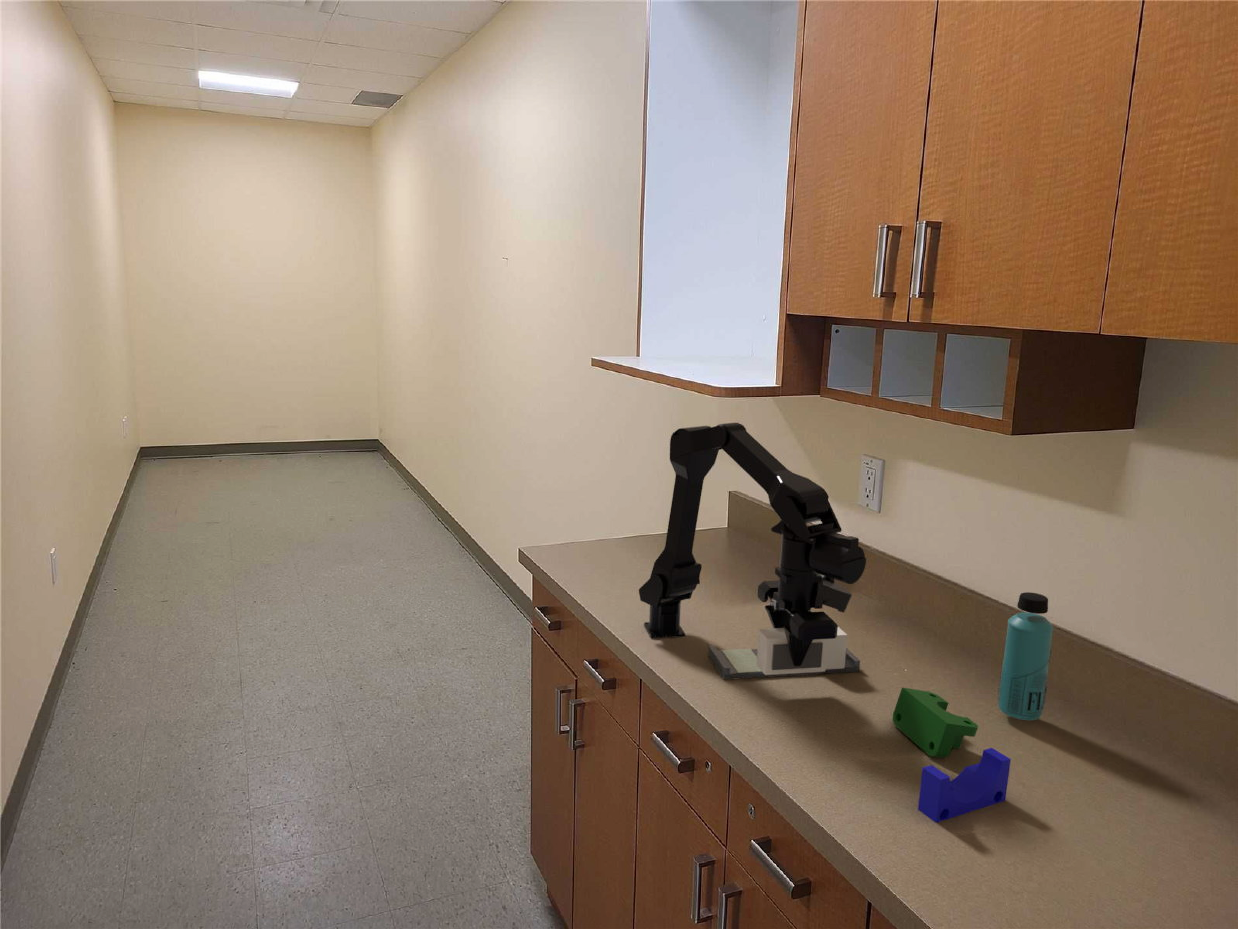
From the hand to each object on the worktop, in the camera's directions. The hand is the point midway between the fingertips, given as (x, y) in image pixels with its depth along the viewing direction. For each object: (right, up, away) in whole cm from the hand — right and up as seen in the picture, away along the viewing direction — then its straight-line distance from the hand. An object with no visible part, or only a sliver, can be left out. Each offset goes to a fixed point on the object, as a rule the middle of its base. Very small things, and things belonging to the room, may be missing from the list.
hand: (791, 659), depth 140 cm
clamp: (+18, -9, -12) cm, 24 cm away
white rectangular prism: (0, -1, +1) cm, 2 cm away
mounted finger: (+7, -2, +13) cm, 15 cm away
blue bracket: (+16, -13, -27) cm, 34 cm away
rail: (+1, -3, +12) cm, 12 cm away
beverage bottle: (+34, -8, -5) cm, 35 cm away
